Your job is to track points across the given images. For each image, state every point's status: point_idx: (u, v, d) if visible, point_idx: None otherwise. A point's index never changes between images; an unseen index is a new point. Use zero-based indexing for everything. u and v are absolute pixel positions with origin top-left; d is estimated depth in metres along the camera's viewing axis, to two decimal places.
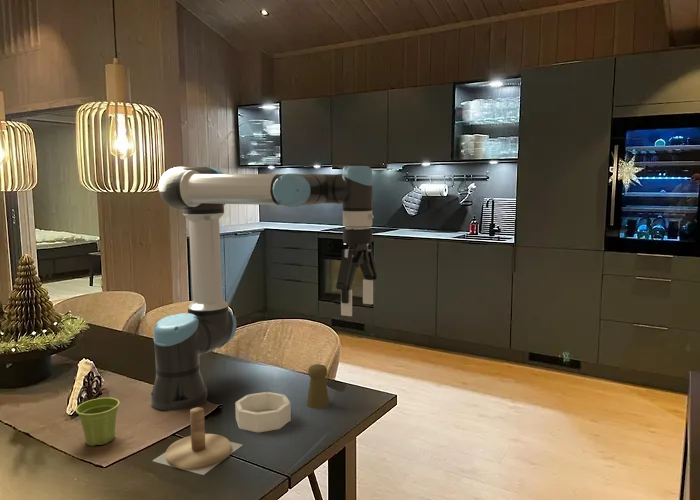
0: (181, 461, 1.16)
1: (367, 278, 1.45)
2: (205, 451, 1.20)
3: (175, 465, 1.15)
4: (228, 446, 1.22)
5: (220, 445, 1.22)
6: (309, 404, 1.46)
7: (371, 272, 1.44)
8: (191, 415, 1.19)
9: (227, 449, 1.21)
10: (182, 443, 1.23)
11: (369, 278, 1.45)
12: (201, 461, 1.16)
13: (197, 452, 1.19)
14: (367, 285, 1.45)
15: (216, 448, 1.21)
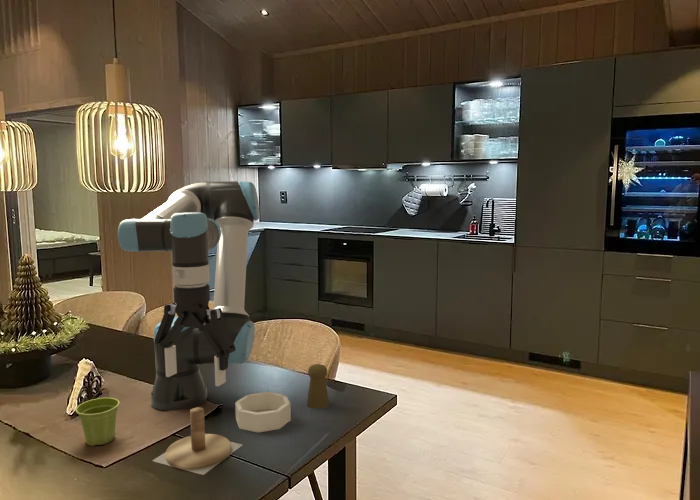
0: (181, 461, 1.16)
1: None
2: (205, 451, 1.20)
3: (175, 465, 1.15)
4: (228, 446, 1.22)
5: (220, 445, 1.22)
6: (309, 404, 1.46)
7: (213, 345, 1.14)
8: (191, 415, 1.19)
9: (227, 449, 1.21)
10: (182, 443, 1.23)
11: None
12: (201, 461, 1.16)
13: (197, 452, 1.19)
14: None
15: (216, 448, 1.21)
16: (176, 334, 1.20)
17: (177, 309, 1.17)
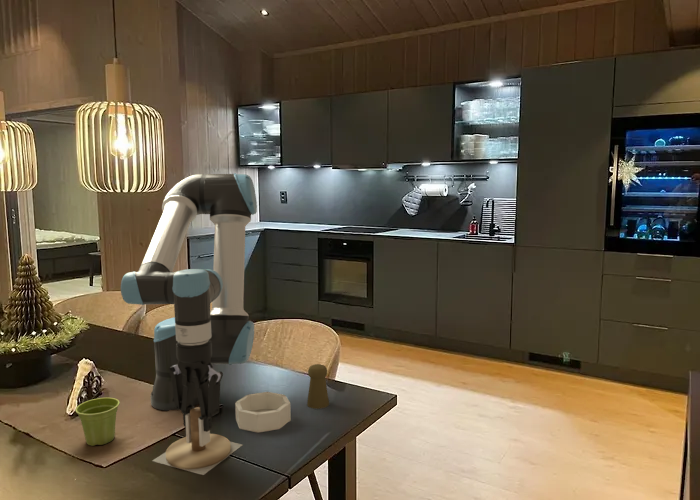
0: (181, 461, 1.16)
1: None
2: (205, 451, 1.20)
3: (175, 465, 1.15)
4: (228, 446, 1.22)
5: (220, 445, 1.22)
6: (309, 404, 1.46)
7: (201, 406, 1.18)
8: (191, 415, 1.19)
9: (227, 449, 1.21)
10: (182, 443, 1.23)
11: None
12: (201, 461, 1.16)
13: (197, 452, 1.19)
14: None
15: (216, 448, 1.21)
16: (191, 395, 1.20)
17: (179, 365, 1.19)
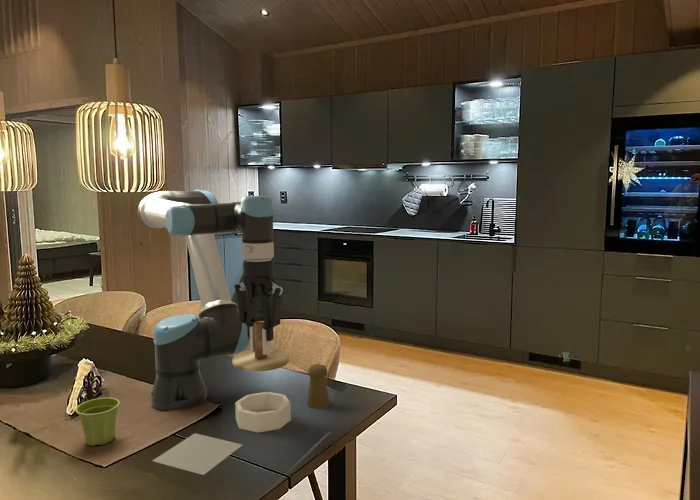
0: (248, 365, 1.30)
1: None
2: (267, 359, 1.34)
3: (243, 368, 1.29)
4: (287, 356, 1.36)
5: (280, 356, 1.36)
6: (309, 404, 1.46)
7: (265, 318, 1.32)
8: (255, 326, 1.33)
9: (286, 358, 1.35)
10: (245, 354, 1.38)
11: None
12: (265, 365, 1.30)
13: (260, 360, 1.34)
14: None
15: (276, 357, 1.35)
16: (254, 309, 1.35)
17: (245, 281, 1.33)
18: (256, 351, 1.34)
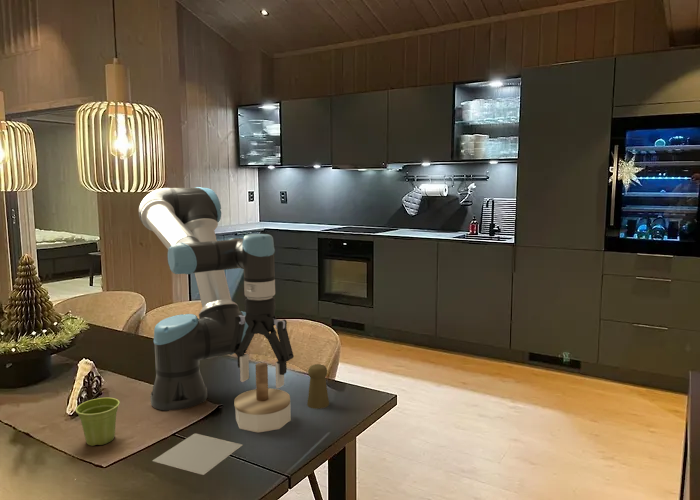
0: (250, 408, 1.31)
1: None
2: (269, 401, 1.36)
3: (245, 411, 1.31)
4: (288, 397, 1.38)
5: (281, 397, 1.38)
6: (309, 404, 1.46)
7: (276, 352, 1.32)
8: (257, 369, 1.35)
9: (288, 399, 1.36)
10: (247, 395, 1.39)
11: None
12: (267, 408, 1.31)
13: (262, 401, 1.35)
14: None
15: (278, 399, 1.37)
16: (248, 342, 1.37)
17: (247, 318, 1.35)
18: (258, 393, 1.36)
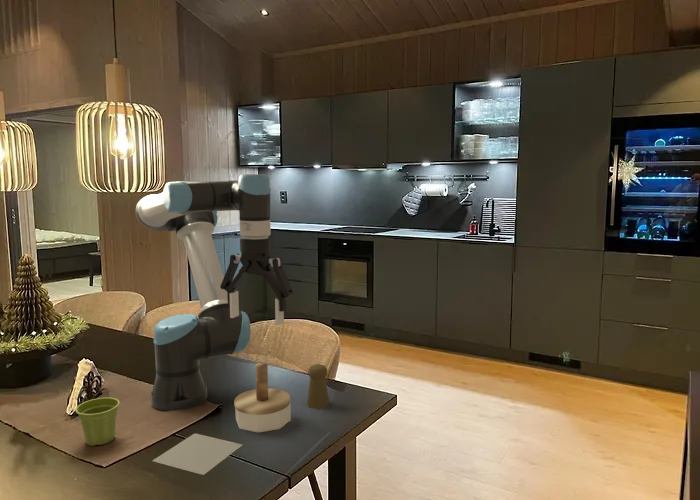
0: (250, 408, 1.31)
1: None
2: (269, 401, 1.36)
3: (245, 411, 1.31)
4: (288, 397, 1.38)
5: (281, 397, 1.38)
6: (309, 404, 1.46)
7: (275, 289, 1.32)
8: (257, 369, 1.35)
9: (288, 399, 1.36)
10: (247, 395, 1.39)
11: None
12: (267, 408, 1.31)
13: (262, 401, 1.35)
14: None
15: (278, 399, 1.37)
16: (240, 281, 1.37)
17: (242, 258, 1.35)
18: (258, 393, 1.36)
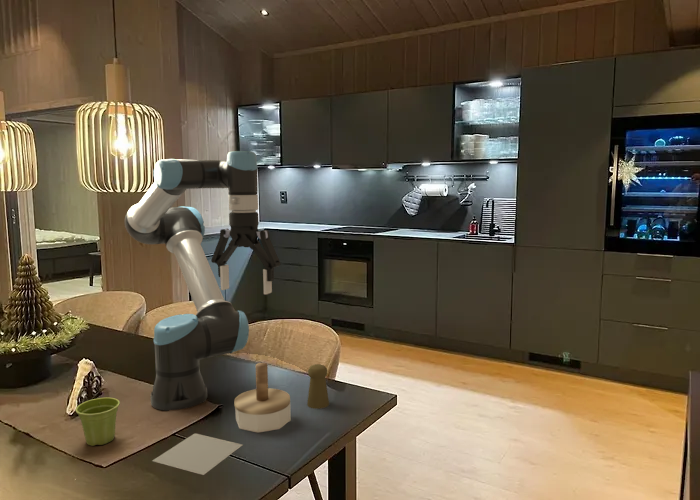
0: (250, 408, 1.31)
1: None
2: (269, 401, 1.36)
3: (245, 411, 1.31)
4: (288, 397, 1.38)
5: (281, 397, 1.38)
6: (309, 404, 1.46)
7: (262, 260, 1.39)
8: (257, 369, 1.35)
9: (288, 399, 1.36)
10: (247, 395, 1.39)
11: None
12: (267, 408, 1.31)
13: (262, 401, 1.35)
14: None
15: (278, 399, 1.37)
16: (229, 254, 1.44)
17: (231, 232, 1.42)
18: (258, 393, 1.36)
